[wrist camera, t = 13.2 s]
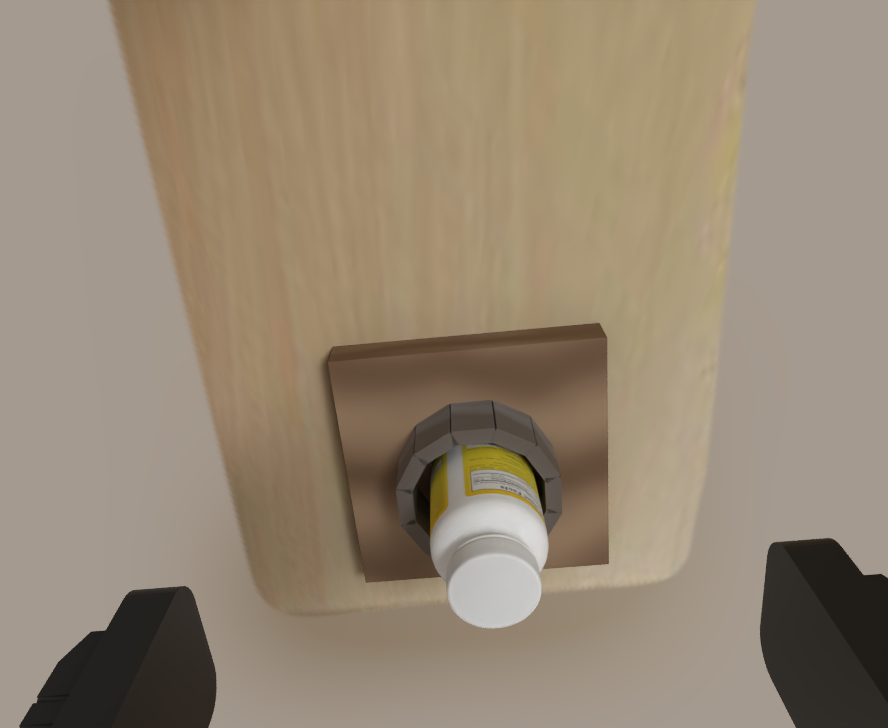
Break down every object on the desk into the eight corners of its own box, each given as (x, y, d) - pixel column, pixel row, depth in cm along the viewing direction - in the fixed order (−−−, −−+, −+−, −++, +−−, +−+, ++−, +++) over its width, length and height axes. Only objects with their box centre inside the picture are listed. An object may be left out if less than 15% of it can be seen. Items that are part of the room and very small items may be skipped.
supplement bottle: (463, 524, 41) (469, 660, 32) (411, 452, 39) (403, 575, 31) (549, 481, 40) (580, 609, 31) (500, 405, 38) (518, 518, 29)
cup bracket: (333, 346, 39) (318, 388, 35) (599, 323, 39) (620, 361, 34) (368, 560, 45) (360, 619, 40) (601, 542, 44) (620, 600, 40)
